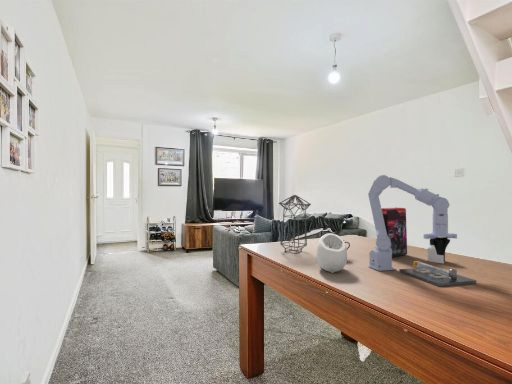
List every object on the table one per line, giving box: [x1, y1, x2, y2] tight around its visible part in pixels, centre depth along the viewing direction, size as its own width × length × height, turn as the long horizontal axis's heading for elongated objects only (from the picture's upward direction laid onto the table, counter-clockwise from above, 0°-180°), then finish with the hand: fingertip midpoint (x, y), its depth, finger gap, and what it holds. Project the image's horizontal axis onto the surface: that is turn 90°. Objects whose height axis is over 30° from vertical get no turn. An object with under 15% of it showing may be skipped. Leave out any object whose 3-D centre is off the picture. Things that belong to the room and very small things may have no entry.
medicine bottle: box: [427, 239, 446, 264], centre depth 149 cm, size 7×7×12 cm
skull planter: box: [316, 232, 348, 274], centre depth 134 cm, size 14×20×19 cm
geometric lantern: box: [278, 194, 312, 255], centre depth 173 cm, size 16×16×35 cm
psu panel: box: [398, 267, 477, 288], centre depth 121 cm, size 18×21×2 cm
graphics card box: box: [381, 207, 408, 258], centre depth 163 cm, size 17×7×27 cm, turn 119°
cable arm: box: [412, 260, 458, 281], centre depth 121 cm, size 21×3×4 cm, turn 12°
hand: (440, 254), depth 126 cm, fingers closed
